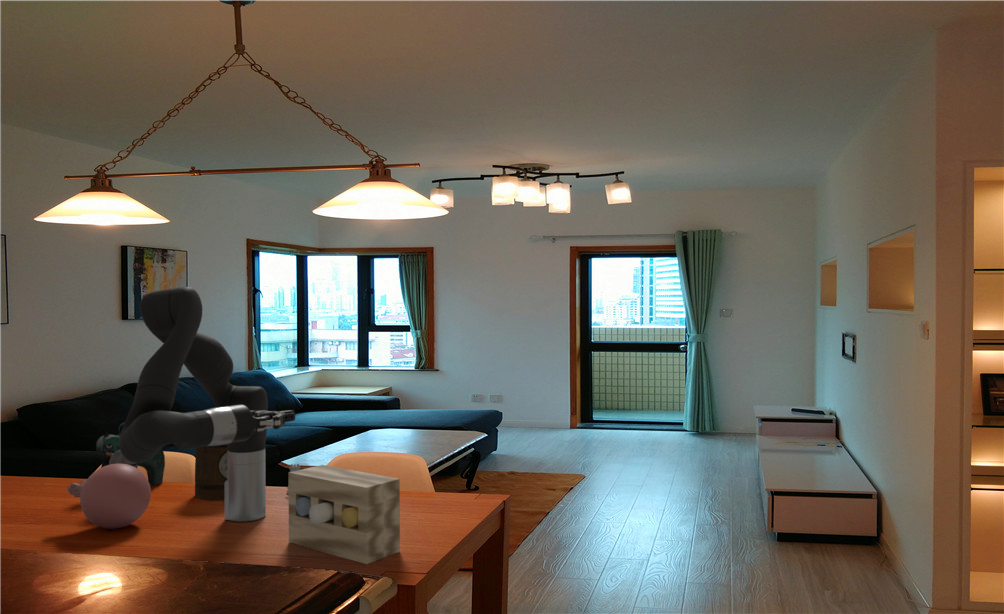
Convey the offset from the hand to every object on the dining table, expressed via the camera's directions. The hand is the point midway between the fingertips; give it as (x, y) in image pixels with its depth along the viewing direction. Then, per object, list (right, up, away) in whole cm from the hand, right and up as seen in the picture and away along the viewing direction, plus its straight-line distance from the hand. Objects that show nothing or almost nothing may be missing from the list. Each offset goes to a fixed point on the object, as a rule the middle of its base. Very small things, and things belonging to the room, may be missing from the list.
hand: (292, 415), depth 172 cm
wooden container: (-34, -30, +52) cm, 69 cm away
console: (+10, -30, +4) cm, 32 cm away
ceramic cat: (-63, -30, +58) cm, 90 cm away
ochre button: (+15, -23, -3) cm, 27 cm away
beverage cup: (-55, -30, +38) cm, 73 cm away
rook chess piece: (-14, -30, +54) cm, 63 cm away
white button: (+7, -23, -1) cm, 24 cm away
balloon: (-50, -30, +20) cm, 62 cm away
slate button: (+2, -23, +6) cm, 24 cm away
